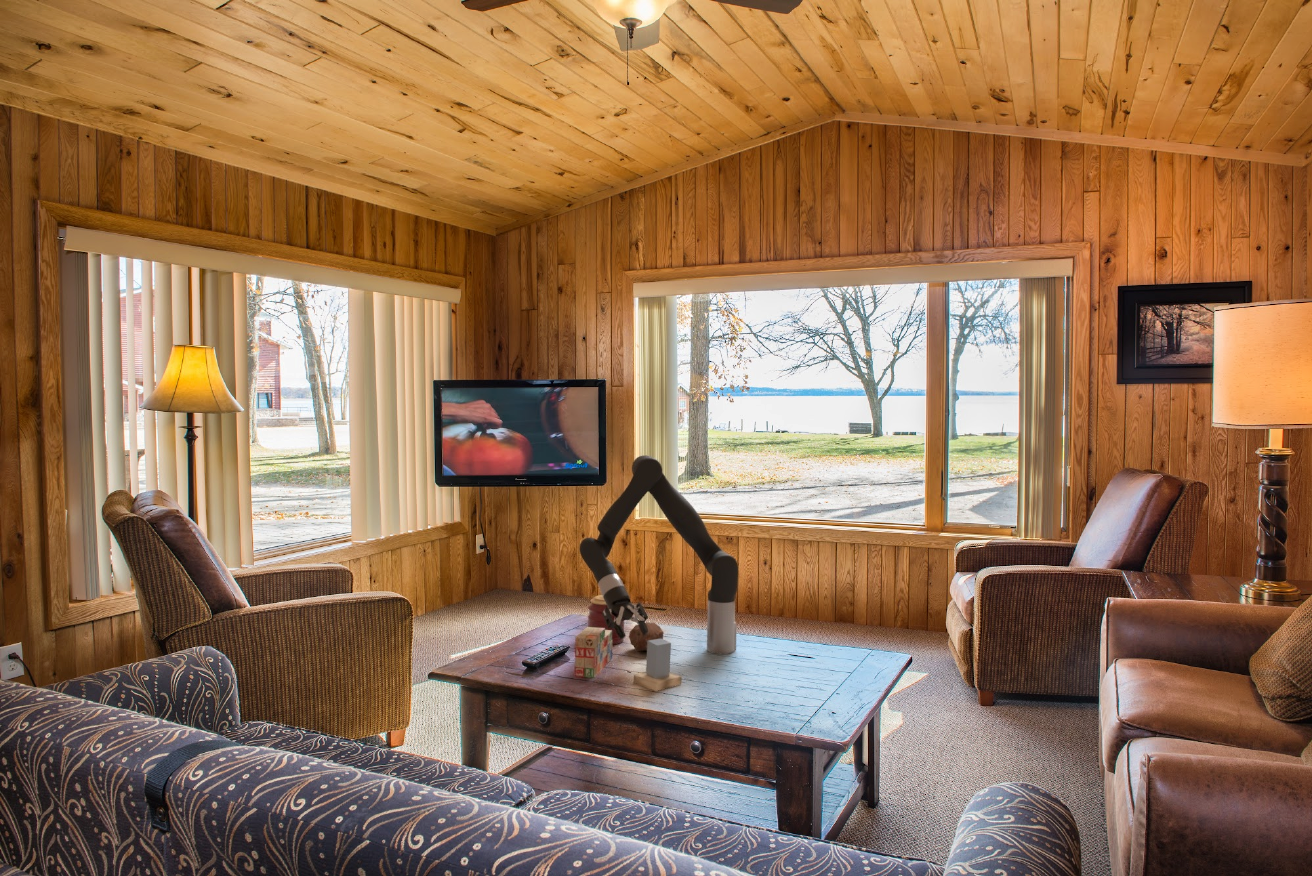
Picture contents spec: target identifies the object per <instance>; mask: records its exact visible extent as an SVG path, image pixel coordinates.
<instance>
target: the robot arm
mask: <svg viewBox="0 0 1312 876" xmlns="http://www.w3.org/2000/svg"><path fill="white" fill-rule="evenodd" d="M631 465H632V466H631V472H632V477H631V480H630V481H629V483H628V485H627V487H626V488H625V489H624V491H623V492H622V493H621V494H620V496H619V497H618V498H617V499H616V500H615V501H614V502H613V503H612V505H610V507H609V508H608V509H607V511H606V512H605V514H604V516H603V517H602V519H600V521H599V523H598V524H597V531H598V533H599V534H598V537H597V538H595V537H586V538H584V539H582V541H581V542H580V544H579V554H580V556H581V559H582V560H583V562H584V563H585V565H586V566H587V567H588V569H589V570H590V571H591V573H592V574H593V576H594V579H595V581H596V583H597V586H598V588H599V591H600V595H602V596H603V598H604V600H605V602H606V604H607V606H608V608H605V610H604V611H603V612H602V614H603V617H604V619H605V622H606V624H607V627H608V628H614V629H615V630H616V633H617V635H618V637H619V638H620V639H625V638H626V632H625V629H624V630H623V628H622V626H621V625H620V622H621V621H624V622H625V621H631V622H634V623H636V625H639V628H640V630H641V632H642V634H643V635H646V634H647V633H648V628H647V626H646V624H645V623H646V622H647V620H648V619H649V615H648V613H647V612H646V610H645V608H644V606H643V605H642V603H641V602H637V603H636V604H633V603H632V601H631V597H630V595H629V593H628V590H627V589H626V587H625V585H624V582H623V580H622V579H621V578H620V576H619V574H618V572H617V570H616V568H615V566H614V565H613V563H612V562H611V561H610V560H608V559H607V558H608V556H609V555H610V553H611V551H612V548H613V545H614V543H615V541H616V538H617V535H618V534H619V532H620V531H621V530H622V528H623V527H624V525H625V524H626V522H627V520H628V519H629V518H630V516H631V515H632V513H633V511H634V510H635V509H636V507H637V506H638V504H639V503H640V502H641V501H642V499H643V498H644V497H645V496H646V494H648V493H649V494H650V495H651V496H652V497H653V498H654V500H655V501H656V503H657V504H658V507H659V508H660V510H661V511H662V513H663V514H664V516H665V517H666V518H667V520H668V522H669V523H670V524H671V525H672V527H673V528H674V530H675V531H676V532H677V534H679V535H680V537H681V539H683V540H684V541H685V543H687V544H688V546H690V547H691V548H692V550H693V551H694V552H695V554H696V555H697V556H698V558H699V560H700V561H701V564H702V565H703V566H704V568H705V569H706V572H707V573H708V574H709V575H710V576H711V583H710V584H711V585H710V589H709V590H708V593H707V614H706V615H707V616H706V617H707V619H706V620H707V624H706V625H707V626H706V651H708V652H709V653H712V654H716V655H717V654H718V655H720V654H721V655H726V654H732V653H734V651H737V629H738V627H737V626H738V624H737V621H735V620H736V619H735V618H736V616H735V615H736V595H737V592H738V587H739V586H738V583H739V565H738V562H737V561H738V560H736V558H735V557H734V556H732V555H730V554H729V553H727V552H726V551H724V550H723V549H722V548H721V547H720V546H719V545H718V544H717V543H716V542H715V540H714V539H713V538H712V536H711V535H710V533H709V532H708V529H707V527H706V525H705V523H704V520H703V519H702V518H701V516H700V514H699V513H698V512H697V511H696V509H695V508H694V506H693V505H692V504H691V503H690V502H689V501H688V499H687V498H686V497H684V495H682V493H680V492H679V490H677V488H675V487H674V485H672V484H671V482H670V481H669V480H668V478H667V477H666V475H665V474H664V473H663V467H662V463H661V462H660V461H659V460H658V459H656V458H654V457H653V456H651V455H640V456H637V457H636V458H635V459H634V460H633V462H632V464H631ZM611 614H612V615H613V616H615V619H614V620H613V618H612V616H611ZM633 615H634V616H633Z"/></svg>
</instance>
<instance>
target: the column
mask: <svg viewBox="0 0 1312 876" xmlns="http://www.w3.org/2000/svg"><path fill="white" fill-rule="evenodd" d="M671 651H672V642H670V641H668V640H666V639H664V638H663V639H662V638H661V639H655V640H648V641H647V651H646V664H645V672H646V674H647V675H649V676H651V677H653V678H655V679H658V678H663V677H668V676H670V671H671V670H670V668H671Z"/></svg>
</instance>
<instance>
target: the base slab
mask: <svg viewBox="0 0 1312 876" xmlns="http://www.w3.org/2000/svg"><path fill="white" fill-rule="evenodd" d="M633 683H634V684H636V683H637V684H636V685H638V686H641V685H642V686H641V687H644V688H646V687H647V688H646V689H649V690H651V689H652V690H651V691H653V690H654V692H658V690H659V691H661V690H660V689H662V690H665V688H666V689H668V688H667V687H670V688H673V687H672V686H674V687H676V686H675V685H677V686H680V685H682V676H681V675H679V674H676V673H673V672H670V676H668V677H663V678H658V679H655V678H653V677H651V676H649V675H647V674H646V671H643V672H639V673H634V674H633Z"/></svg>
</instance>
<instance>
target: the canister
mask: <svg viewBox="0 0 1312 876" xmlns="http://www.w3.org/2000/svg"><path fill="white" fill-rule="evenodd" d="M589 601H590V604H589V605H588V606H587V610H588V615H587V627H595V628H605V630H612V646H614V645H618V643H619V644H621V643H623V642H624V639H625V638H624V639H620V638H619V637H618V635H617V633H616V630H615V629H614V628H608V627H607V624H606V622H605V619H604V617H603V614H602V612H603V611H604V610H605V608H608V606H607V604H606V602H605V600H604V598H603V596H602V594H600V595H595V596H594V597H593V598H591V599H590V600H589ZM611 616H612V618H613V620H614V619H615V616H613V615H612V614H611ZM620 625H621V626H622V628H623V630H624V631H625V620H624V621H621V622H620Z"/></svg>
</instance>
